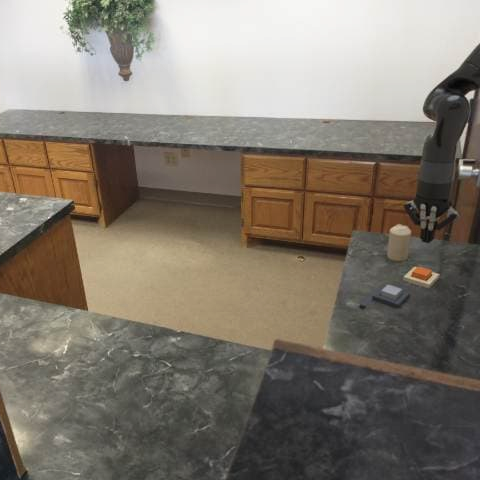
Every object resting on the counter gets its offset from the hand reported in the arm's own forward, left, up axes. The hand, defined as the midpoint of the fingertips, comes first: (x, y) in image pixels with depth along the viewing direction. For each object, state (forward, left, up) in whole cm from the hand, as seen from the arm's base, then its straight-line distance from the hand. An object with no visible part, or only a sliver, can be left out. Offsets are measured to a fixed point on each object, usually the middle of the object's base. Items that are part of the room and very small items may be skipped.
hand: (426, 241), depth 129 cm
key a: (0, 0, -10) cm, 10 cm away
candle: (-11, -11, -13) cm, 20 cm away
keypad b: (+13, -2, -13) cm, 18 cm away
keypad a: (0, 0, -13) cm, 13 cm away
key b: (+13, -2, -10) cm, 17 cm away
